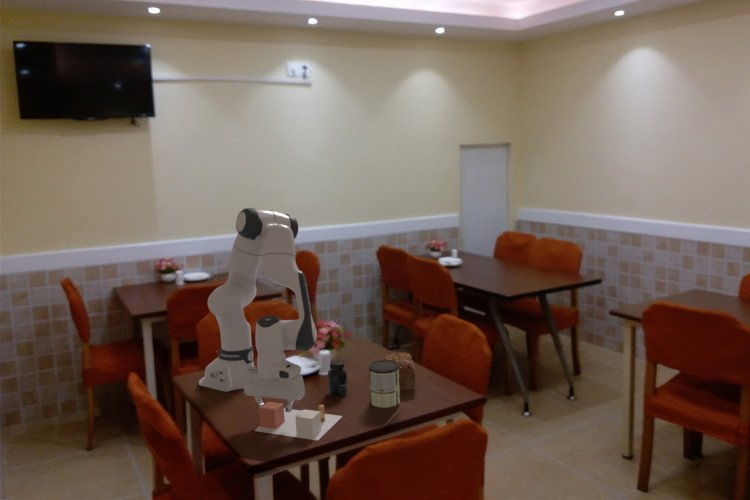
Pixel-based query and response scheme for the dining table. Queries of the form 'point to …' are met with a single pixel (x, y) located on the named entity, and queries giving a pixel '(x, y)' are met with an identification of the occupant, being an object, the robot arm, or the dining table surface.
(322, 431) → the plate
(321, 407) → the bronze cylinder
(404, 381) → the bread
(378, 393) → the coffee can
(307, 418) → the pale grey cube
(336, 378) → the supplement bottle
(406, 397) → the dining table surface
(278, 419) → the salmon red cube
